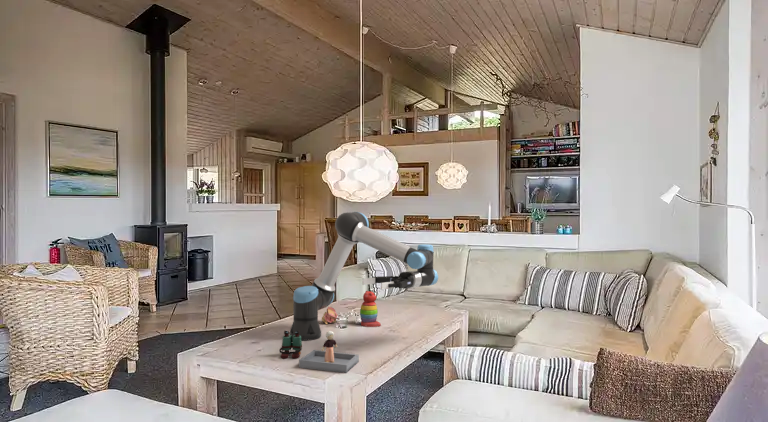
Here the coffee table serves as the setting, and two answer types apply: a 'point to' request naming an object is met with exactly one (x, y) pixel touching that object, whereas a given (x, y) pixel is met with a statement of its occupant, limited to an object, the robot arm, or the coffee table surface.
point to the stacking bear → (369, 310)
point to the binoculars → (291, 345)
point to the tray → (340, 364)
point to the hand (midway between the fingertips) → (371, 284)
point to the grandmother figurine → (329, 347)
